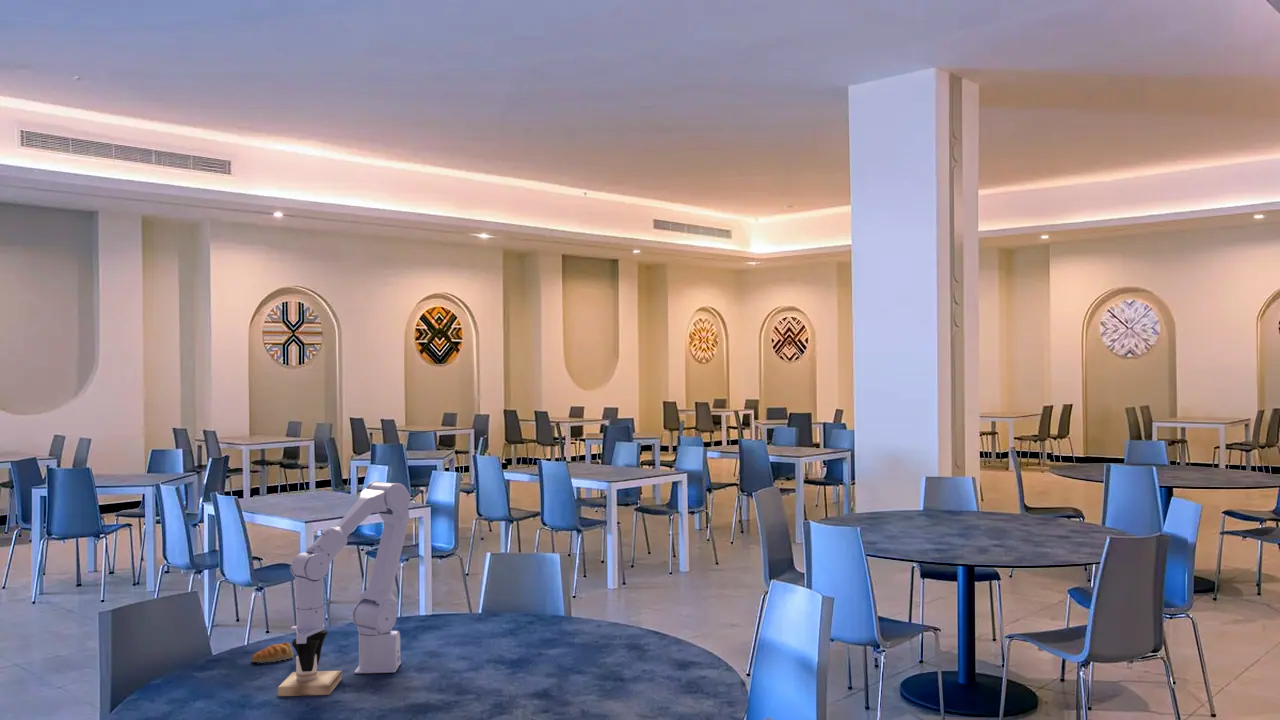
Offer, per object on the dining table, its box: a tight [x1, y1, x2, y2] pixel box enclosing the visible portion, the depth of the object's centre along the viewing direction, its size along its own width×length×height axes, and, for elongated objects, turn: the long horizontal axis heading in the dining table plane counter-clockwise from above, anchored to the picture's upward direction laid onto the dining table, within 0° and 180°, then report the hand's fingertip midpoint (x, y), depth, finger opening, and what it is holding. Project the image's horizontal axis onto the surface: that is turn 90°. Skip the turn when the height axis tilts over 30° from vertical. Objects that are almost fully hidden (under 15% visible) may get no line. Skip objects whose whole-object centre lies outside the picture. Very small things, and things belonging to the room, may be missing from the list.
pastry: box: [251, 641, 295, 663], centre depth 249 cm, size 9×7×4 cm
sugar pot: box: [295, 654, 318, 681], centre depth 226 cm, size 4×4×5 cm
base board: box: [277, 670, 343, 697], centre depth 226 cm, size 11×11×2 cm
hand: (310, 667), depth 226 cm, fingers closed on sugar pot, 4 cm apart
